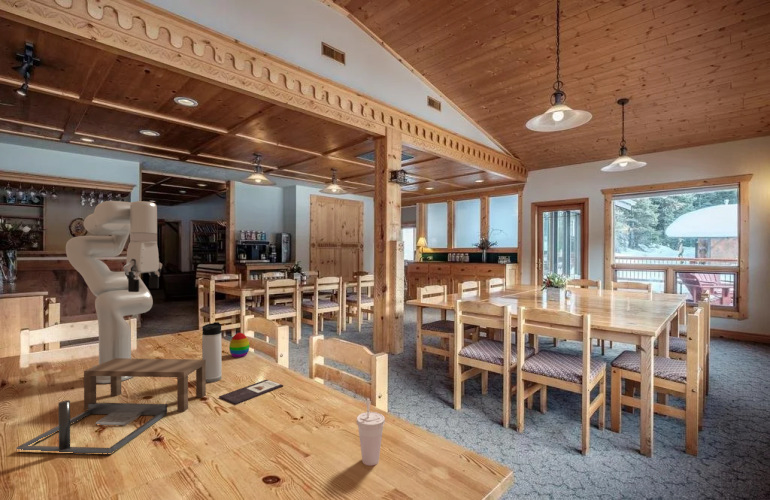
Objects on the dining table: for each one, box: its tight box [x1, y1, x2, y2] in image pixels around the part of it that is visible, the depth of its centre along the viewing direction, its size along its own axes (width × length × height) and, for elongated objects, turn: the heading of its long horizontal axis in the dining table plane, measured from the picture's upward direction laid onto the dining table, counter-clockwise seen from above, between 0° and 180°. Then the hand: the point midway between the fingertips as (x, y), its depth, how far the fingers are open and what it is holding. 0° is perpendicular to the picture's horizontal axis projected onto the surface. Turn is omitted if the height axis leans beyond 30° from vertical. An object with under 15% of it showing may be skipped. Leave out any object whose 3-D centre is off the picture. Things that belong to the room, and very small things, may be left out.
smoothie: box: [355, 398, 386, 466], centre depth 84 cm, size 6×6×14 cm
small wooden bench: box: [83, 357, 207, 413], centre depth 115 cm, size 30×12×12 cm, turn 88°
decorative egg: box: [228, 332, 250, 358], centre depth 163 cm, size 8×8×10 cm
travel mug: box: [201, 321, 223, 383], centre depth 134 cm, size 6×7×20 cm
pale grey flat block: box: [95, 412, 142, 427], centre depth 103 cm, size 8×6×2 cm
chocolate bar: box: [218, 379, 284, 406], centre depth 123 cm, size 9×1×18 cm
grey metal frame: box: [16, 399, 168, 454], centre depth 96 cm, size 22×22×12 cm
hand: (144, 290), depth 125 cm, fingers open, 9 cm apart
